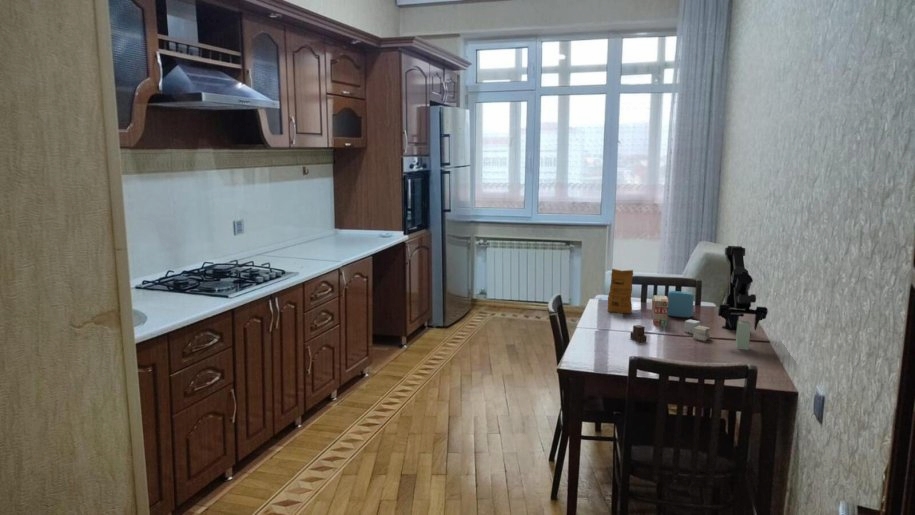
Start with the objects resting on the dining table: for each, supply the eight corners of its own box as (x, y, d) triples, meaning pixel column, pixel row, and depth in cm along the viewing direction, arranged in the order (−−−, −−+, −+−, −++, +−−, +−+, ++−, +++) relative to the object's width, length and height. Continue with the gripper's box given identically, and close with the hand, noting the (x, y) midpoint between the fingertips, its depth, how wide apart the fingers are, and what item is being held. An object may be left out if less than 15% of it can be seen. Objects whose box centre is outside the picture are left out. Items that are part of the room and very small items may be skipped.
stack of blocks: (651, 315, 325) (652, 291, 323) (664, 315, 324) (665, 292, 322) (653, 325, 305) (654, 300, 303) (667, 326, 303) (668, 301, 301)
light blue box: (692, 316, 324) (694, 292, 322) (691, 318, 319) (693, 294, 318) (667, 313, 328) (669, 290, 326) (666, 315, 324) (668, 292, 322)
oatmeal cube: (698, 336, 286) (698, 325, 285) (709, 338, 283) (710, 327, 282) (693, 338, 283) (693, 327, 282) (704, 341, 279) (705, 329, 278)
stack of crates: (665, 344, 275) (666, 329, 274) (634, 347, 271) (635, 331, 270) (646, 335, 289) (646, 320, 288) (616, 337, 285) (617, 322, 284)
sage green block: (735, 345, 272) (737, 320, 270) (746, 346, 271) (748, 321, 269) (736, 348, 268) (738, 323, 266) (748, 349, 267) (750, 324, 265)
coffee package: (608, 308, 339) (610, 267, 336) (633, 310, 334) (635, 268, 331) (605, 312, 330) (607, 270, 327) (630, 314, 325) (632, 271, 322)
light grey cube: (689, 329, 297) (689, 319, 297) (699, 332, 294) (700, 321, 293) (684, 331, 294) (684, 321, 293) (694, 334, 290) (695, 323, 290)
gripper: (720, 285, 273) (722, 316, 264) (768, 288, 268) (771, 320, 259) (717, 300, 282) (718, 330, 273) (763, 302, 277) (766, 334, 268)
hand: (743, 328), depth 268 cm, fingers open, 9 cm apart
